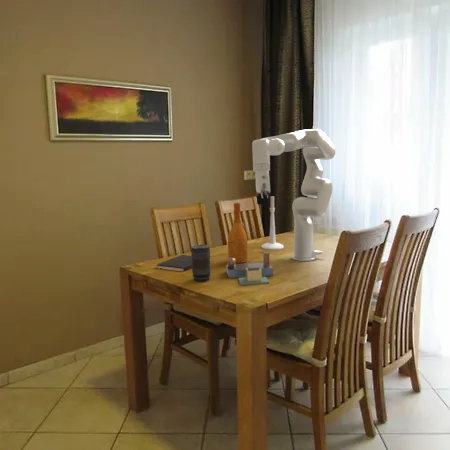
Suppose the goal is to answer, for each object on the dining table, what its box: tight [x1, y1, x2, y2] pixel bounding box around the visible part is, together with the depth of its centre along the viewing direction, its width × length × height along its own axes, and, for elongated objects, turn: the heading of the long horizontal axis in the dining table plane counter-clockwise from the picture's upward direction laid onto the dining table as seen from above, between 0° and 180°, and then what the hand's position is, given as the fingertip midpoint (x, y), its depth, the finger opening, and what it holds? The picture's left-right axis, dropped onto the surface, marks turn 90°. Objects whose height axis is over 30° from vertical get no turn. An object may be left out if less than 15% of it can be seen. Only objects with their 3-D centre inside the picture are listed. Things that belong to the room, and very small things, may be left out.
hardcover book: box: [156, 254, 192, 272], centre depth 222 cm, size 16×23×2 cm
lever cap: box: [245, 267, 263, 282], centre depth 190 cm, size 6×5×5 cm
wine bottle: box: [227, 202, 249, 264], centre depth 223 cm, size 10×10×30 cm
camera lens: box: [190, 244, 211, 283], centre depth 193 cm, size 8×8×15 cm
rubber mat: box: [237, 276, 270, 286], centre depth 190 cm, size 12×8×1 cm, turn 96°
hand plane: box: [225, 251, 274, 279], centre depth 202 cm, size 20×10×10 cm, turn 96°
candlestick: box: [261, 195, 284, 251], centre depth 255 cm, size 13×13×30 cm
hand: (262, 205), depth 201 cm, fingers open, 9 cm apart
